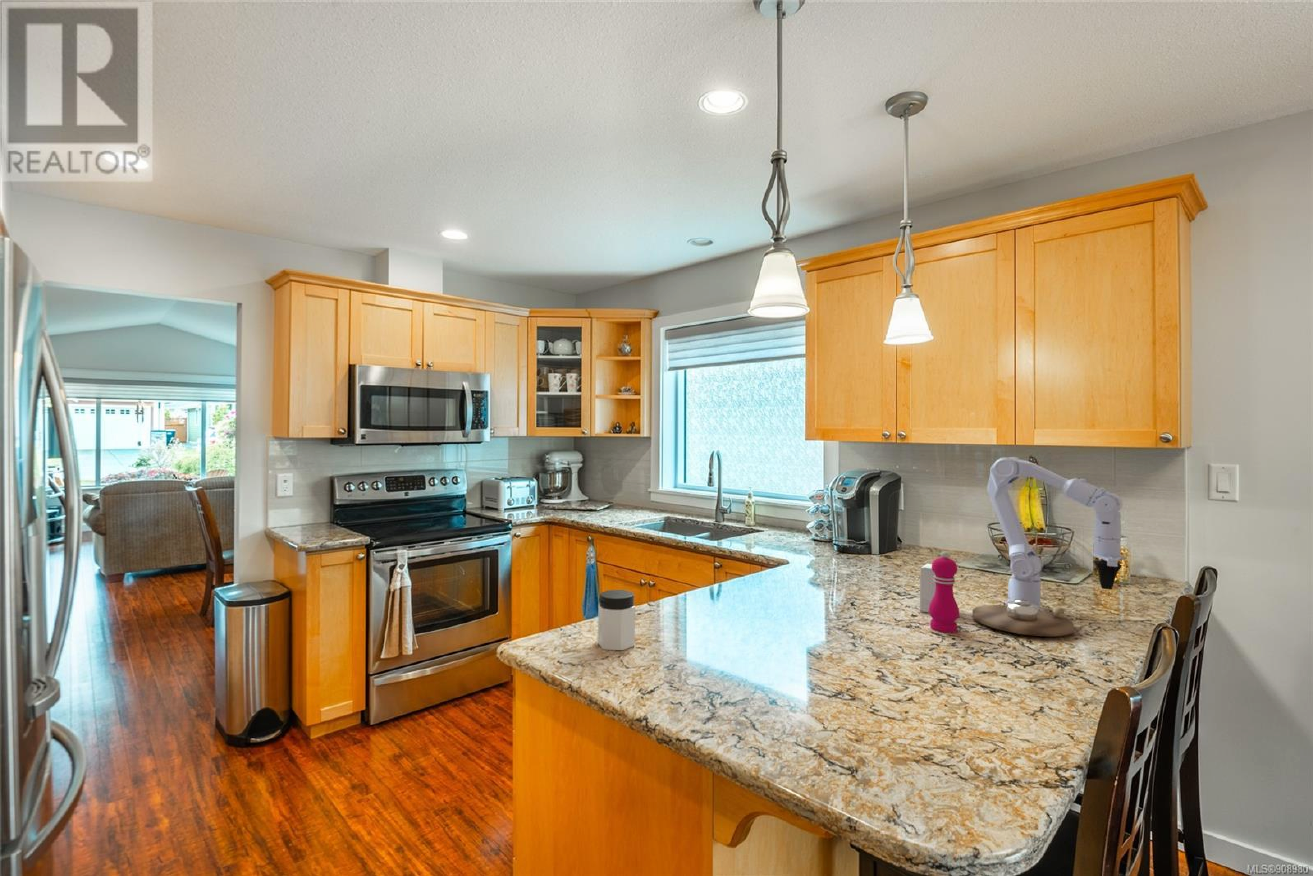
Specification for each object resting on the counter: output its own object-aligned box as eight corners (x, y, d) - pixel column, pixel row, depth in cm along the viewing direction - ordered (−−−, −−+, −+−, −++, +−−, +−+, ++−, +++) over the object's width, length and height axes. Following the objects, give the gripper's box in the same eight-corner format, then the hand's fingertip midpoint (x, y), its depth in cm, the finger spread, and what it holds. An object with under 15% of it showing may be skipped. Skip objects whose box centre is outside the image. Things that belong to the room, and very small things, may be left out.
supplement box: (947, 616, 169) (947, 570, 169) (918, 611, 174) (919, 567, 174) (953, 610, 175) (953, 566, 175) (925, 605, 180) (926, 562, 180)
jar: (595, 640, 147) (595, 590, 147) (628, 637, 150) (628, 588, 150) (603, 653, 139) (603, 600, 139) (638, 649, 141) (638, 597, 141)
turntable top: (960, 621, 162) (960, 608, 162) (986, 604, 178) (987, 592, 178) (1063, 643, 146) (1063, 628, 146) (1082, 622, 162) (1082, 608, 162)
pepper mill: (952, 625, 162) (953, 549, 162) (963, 634, 154) (964, 554, 154) (924, 624, 162) (925, 548, 162) (933, 632, 155) (935, 554, 155)
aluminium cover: (1004, 617, 161) (1004, 600, 161) (1009, 612, 167) (1010, 595, 167) (1035, 623, 157) (1035, 606, 157) (1039, 617, 162) (1040, 600, 162)
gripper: (1132, 543, 156) (1131, 596, 156) (1119, 535, 169) (1118, 584, 169) (1098, 541, 159) (1097, 593, 159) (1088, 533, 172) (1087, 581, 172)
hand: (1106, 588), depth 164 cm, fingers closed
